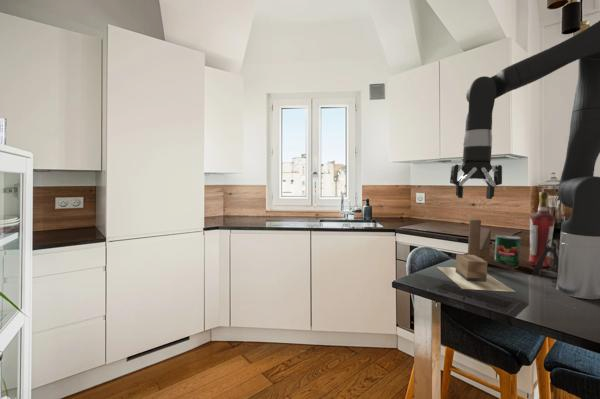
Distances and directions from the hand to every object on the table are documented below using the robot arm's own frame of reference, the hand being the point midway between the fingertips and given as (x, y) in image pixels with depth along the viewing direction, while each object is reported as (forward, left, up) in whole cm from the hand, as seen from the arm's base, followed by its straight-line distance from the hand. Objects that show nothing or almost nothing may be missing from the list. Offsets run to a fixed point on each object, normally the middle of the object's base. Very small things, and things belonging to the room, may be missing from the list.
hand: (474, 198), depth 95 cm
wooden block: (-9, -16, -26) cm, 32 cm away
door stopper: (-30, -11, -26) cm, 41 cm away
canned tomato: (-22, -22, -26) cm, 41 cm away
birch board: (0, +1, -26) cm, 26 cm away
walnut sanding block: (0, 0, -25) cm, 25 cm away
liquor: (-34, -23, -26) cm, 49 cm away
